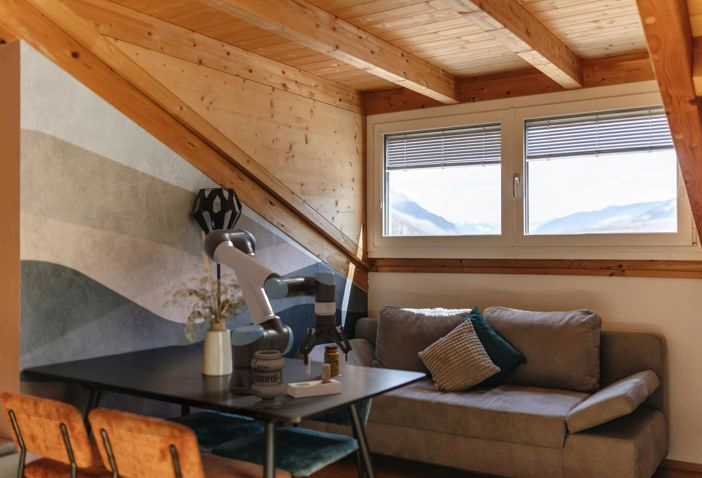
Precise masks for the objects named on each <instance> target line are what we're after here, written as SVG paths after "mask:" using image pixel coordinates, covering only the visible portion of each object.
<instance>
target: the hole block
mask: <svg viewBox="0 0 702 478" xmlns="http://www.w3.org/2000/svg"><path fill="white" fill-rule="evenodd" d="M286 387H287V394H288V395H289V396H290V397H291V396H292V397H293V398H295V399H297V398H298V399H299V398H306V397H315V396H325V395H334V394H342V393H343V383H342V382H341V381H339V380H336V379H334V378H333V379H331V378H330V383H327V384H322V379H321V380H313V381H312V380H311V381H303V382H302V381H301V382H293V383H287V385H286Z"/></svg>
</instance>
